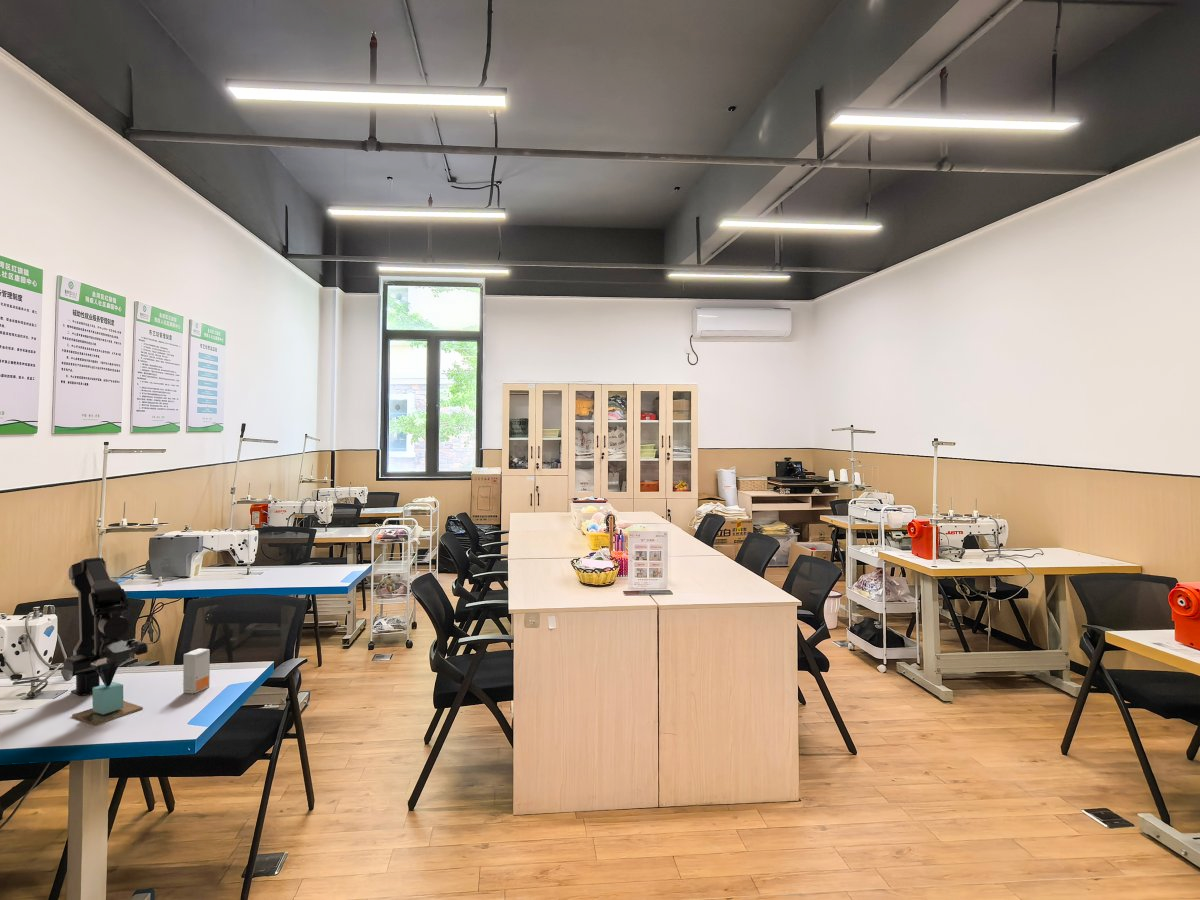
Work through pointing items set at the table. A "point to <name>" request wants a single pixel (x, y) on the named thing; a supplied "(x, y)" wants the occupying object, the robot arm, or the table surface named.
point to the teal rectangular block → (107, 698)
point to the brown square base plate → (99, 718)
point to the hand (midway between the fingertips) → (107, 685)
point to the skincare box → (196, 670)
